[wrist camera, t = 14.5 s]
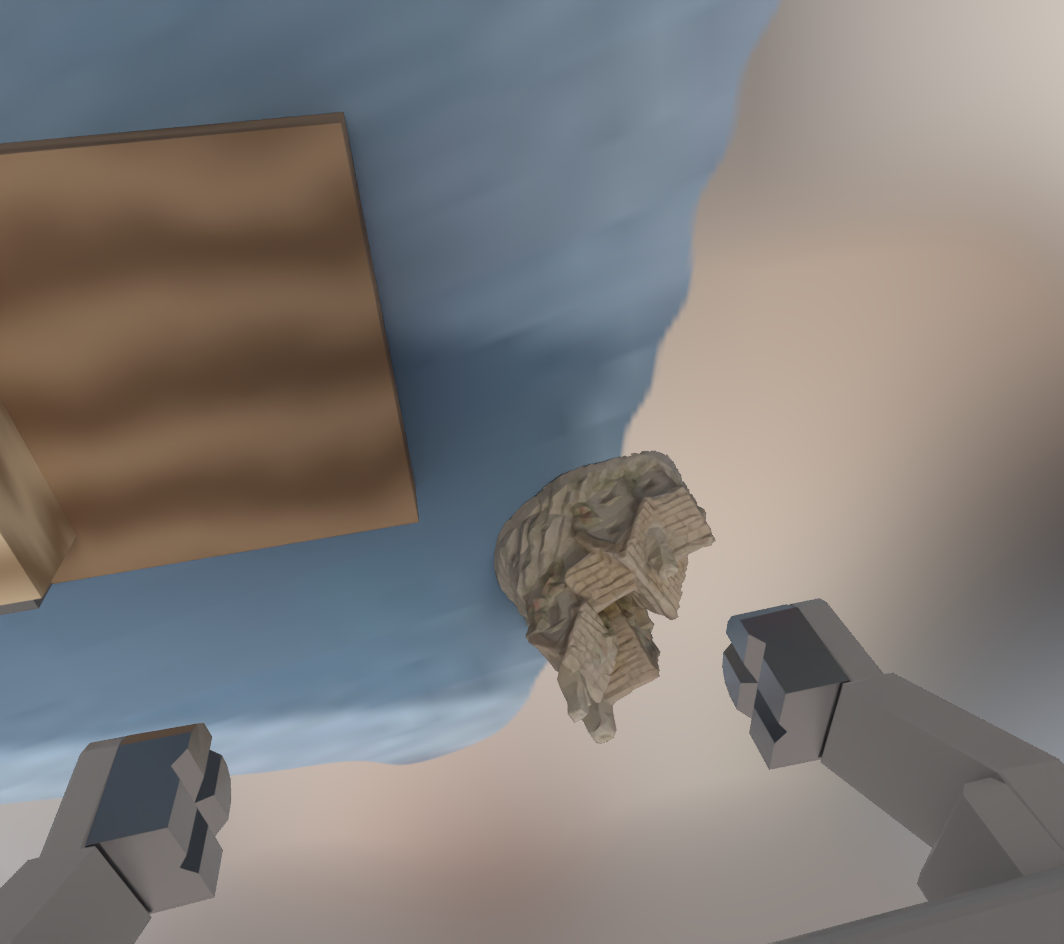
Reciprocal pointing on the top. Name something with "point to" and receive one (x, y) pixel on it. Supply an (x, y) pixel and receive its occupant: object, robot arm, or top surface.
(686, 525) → the ceramic cottage
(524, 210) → the top surface
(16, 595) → the bar
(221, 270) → the plate
